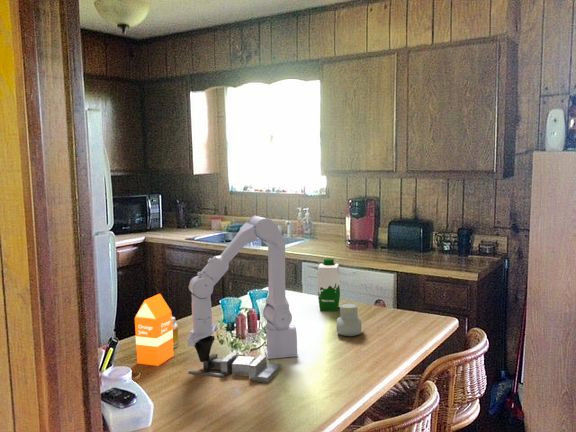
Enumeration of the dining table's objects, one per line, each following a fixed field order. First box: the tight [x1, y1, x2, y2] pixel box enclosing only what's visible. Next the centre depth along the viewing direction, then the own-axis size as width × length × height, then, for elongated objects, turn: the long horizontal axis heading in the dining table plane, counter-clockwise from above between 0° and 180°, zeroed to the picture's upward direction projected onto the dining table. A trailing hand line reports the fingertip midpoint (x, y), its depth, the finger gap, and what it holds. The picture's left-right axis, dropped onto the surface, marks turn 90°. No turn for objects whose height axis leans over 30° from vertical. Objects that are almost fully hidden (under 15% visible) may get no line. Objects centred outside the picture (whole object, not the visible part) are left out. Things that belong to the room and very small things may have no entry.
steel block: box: [231, 355, 256, 377], centre depth 156 cm, size 5×6×4 cm
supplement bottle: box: [172, 316, 180, 349], centre depth 179 cm, size 5×5×10 cm
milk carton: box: [316, 257, 341, 312], centre depth 217 cm, size 9×9×20 cm
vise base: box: [188, 354, 282, 384], centre depth 156 cm, size 25×10×4 cm, turn 70°
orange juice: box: [134, 293, 175, 366], centre depth 167 cm, size 8×9×20 cm
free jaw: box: [202, 351, 239, 376], centre depth 158 cm, size 8×7×4 cm
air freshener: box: [336, 303, 362, 337], centre depth 186 cm, size 11×8×10 cm
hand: (204, 361), depth 160 cm, fingers closed, pressing on free jaw
